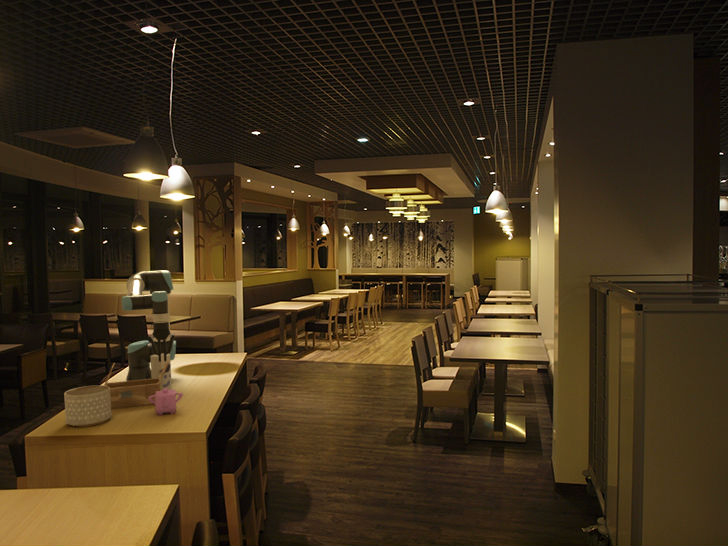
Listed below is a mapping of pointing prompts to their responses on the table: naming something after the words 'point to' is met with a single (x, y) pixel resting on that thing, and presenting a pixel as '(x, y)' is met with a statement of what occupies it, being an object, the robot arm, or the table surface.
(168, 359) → the flap
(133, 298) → the robot arm
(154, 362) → the container
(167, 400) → the teapot
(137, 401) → the carton
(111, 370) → the flap
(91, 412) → the planter
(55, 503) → the table surface
